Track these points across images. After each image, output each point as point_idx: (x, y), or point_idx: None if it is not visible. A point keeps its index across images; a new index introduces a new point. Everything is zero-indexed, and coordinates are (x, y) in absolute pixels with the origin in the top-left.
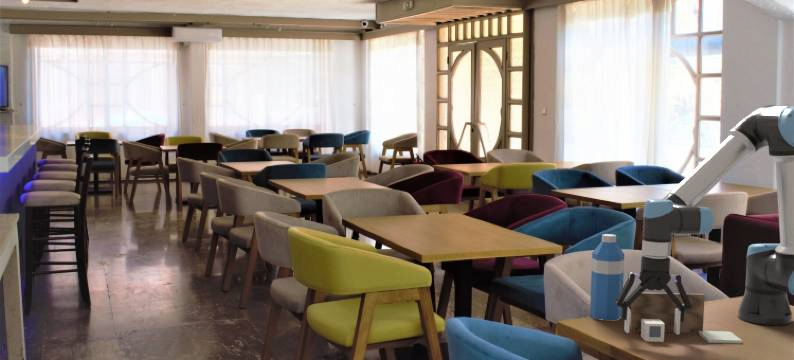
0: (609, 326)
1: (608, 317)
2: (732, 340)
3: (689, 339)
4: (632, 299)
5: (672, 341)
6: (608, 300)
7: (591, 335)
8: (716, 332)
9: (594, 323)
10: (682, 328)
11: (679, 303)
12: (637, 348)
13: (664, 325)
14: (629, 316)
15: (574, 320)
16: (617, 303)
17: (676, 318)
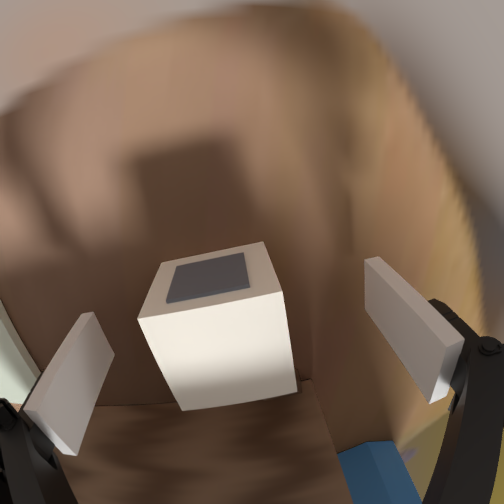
0: (377, 402)
1: (363, 452)
2: None
3: (61, 328)
4: (483, 421)
5: (120, 278)
6: (383, 495)
7: (473, 265)
8: (10, 392)
9: (411, 408)
10: (104, 418)
11: (12, 457)
12: (319, 76)
13: (140, 311)
14: (419, 310)
15: (449, 405)
16: None
17: (70, 386)
